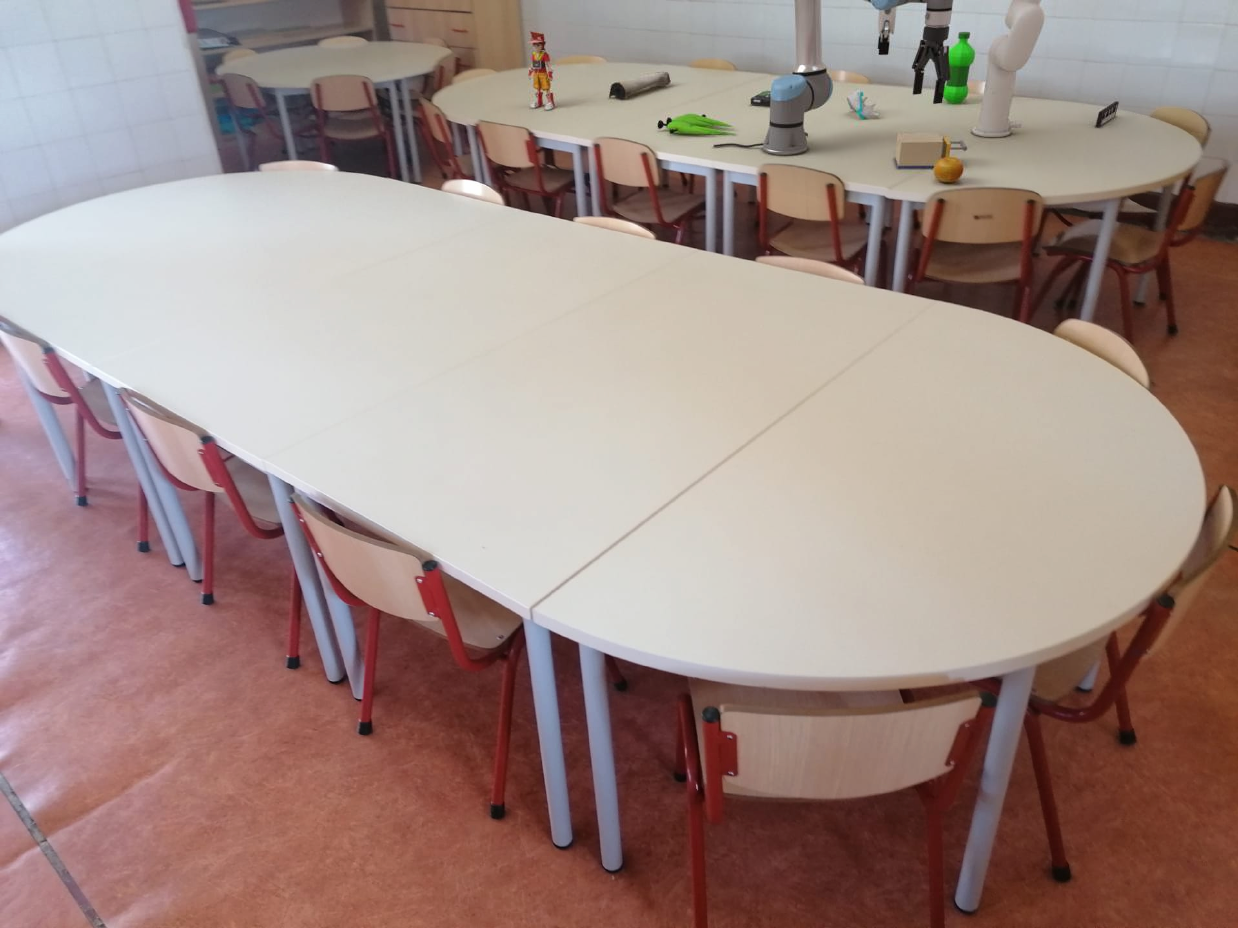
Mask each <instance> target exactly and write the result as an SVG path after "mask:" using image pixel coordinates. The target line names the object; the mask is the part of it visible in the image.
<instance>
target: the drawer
mask: <svg viewBox="0 0 1238 928" xmlns="http://www.w3.org/2000/svg"><path fill="white" fill-rule="evenodd" d="M941 139H942V141H943V146H942V153H941V159H942V158H945V157H950V154H951V153H950V152H951V151H953V150H954V151H955V150H957V151H959V150H963V151H964V152H966V151H967V150H968V147H967V144H966V143H965V141H964V140H963V139H960V140H959V141H956V140H955V141H953V140H952V141H950V139H949V138H948V136H947V135H942V138H941ZM952 145H960V146H954V147H953V146H952Z"/></svg>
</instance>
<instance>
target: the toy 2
mask: <svg viewBox="0 0 1238 928" xmlns="http://www.w3.org/2000/svg"><path fill="white" fill-rule="evenodd" d="M665 121H666V122H665V123H664V121H663V120H661V119H660V120H658V122H657V129H658V130H661V129H663V128H664V127H667V128H666V129H667V130H668V132H669V134H670V135H673V134H680V135H681V134H684V135H685V134H692V135H735V132H734V133H733V132H729V131H723V130H718V129H713V128H712V127H715V126H717V127H724V128H725V127H726V128H734V126H733V125H731V124H729V123H726V122H724V121H720V120H718V119H717V120H716V119H713V118H709V117H707V115H706V114H705V113H703V114H702V115H698V114H696V113H685V114H683V115H679V116H676V117H674V118H673V119H672V117H668V116H667V118H666V120H665Z"/></svg>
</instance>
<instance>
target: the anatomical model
mask: <svg viewBox="0 0 1238 928" xmlns="http://www.w3.org/2000/svg"><path fill="white" fill-rule="evenodd" d="M863 96H864V91H861V90H860V88H856V89H855V91H854V92H853V93H852V94H848V95H847V96H846V101H847V105H848V106H849V108H850V110H852V111H854V112H856V113H857V115H858V116H859V118H860V119H861V120H866V119H868V118H878V117H880V115H881V114H880V113H879V112H875V111H874V108H875V107H876V106H877V103H875V102H874V103H871V104H868V105H866V104H865V102H866V100H867V99H868V96H865V97H863Z"/></svg>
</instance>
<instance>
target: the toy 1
mask: <svg viewBox="0 0 1238 928" xmlns="http://www.w3.org/2000/svg"><path fill="white" fill-rule="evenodd" d="M529 33H530V35H531V36H528V37H527V38H528V39H529V40H528V41H527V43H529V44H530V43H531V44H532V48H533V50H534V51H533V52H532V55H531V58H530V59H531V63H530V66H528V74H527V75H528V76H527V77H528V79H529V80H531V75H532V74H533V84H532V85H533V86H532V87H533V88H534V89H535V90H536V92H534V95H535V97H536V100H535V101H533V102H531V105H530V108H531V109H535V108H538V107H542V106H544V101H543V100H544V99H543V95H544V92H546V94H545V97H546V99H547V103H546V104H545V106H544V110H546V111H549V110H553V109H554V107H555V106H556V105H555V99H554V92H551V91H550V90H551V86H552V84H551V82H552V81H553V80H554V77H553V73H554V71H555V70H554V69H552V68H551V63H550V61H551V59H550V58H551V57H550V54H549V53H548V52H547V50H546V48H545V46H546V44H547V41H545V35H544V33H543V32H542V33H539V32H535V31H529Z"/></svg>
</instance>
